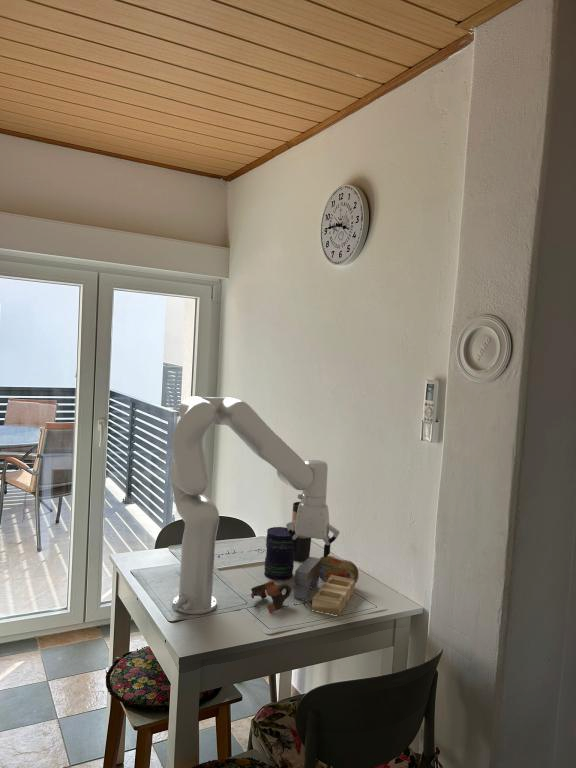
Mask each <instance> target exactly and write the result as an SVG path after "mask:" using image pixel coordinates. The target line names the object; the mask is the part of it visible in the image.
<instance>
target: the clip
mask: <svg viewBox="0 0 576 768" xmlns="http://www.w3.org/2000/svg"><path fill="white" fill-rule="evenodd" d="M320 568H321V559H320V557H319V558H318V557H315V556H309V558H308V559H307V560H306V561H303V562H302V564H300V565H299V566H298V567H297V568H296V570H294V572H295V573H294V584H295V585H294V595H293V596H294V599H295V598H299V599H298V600H300V599H304V600H307V599H308V598H309V599H310V589H313V588H315V589H314V590H317V589H318V588H319V581H320V577H319V572H320ZM310 587H312V588H310ZM317 587H318V588H317ZM309 599H308V600H309ZM304 600H303V601H304ZM308 600H307V601H308Z"/></svg>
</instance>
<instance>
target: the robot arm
mask: <svg viewBox="0 0 576 768" xmlns="http://www.w3.org/2000/svg"><path fill="white" fill-rule="evenodd" d="M178 414H179V416H180V417H179V420H178V422H177V423H176V426H175V428H174V429H173V433H172V437H171V439H172V440H171V446H172V452H173V459H174V462H173V463H172V465H171V467H170V470H169V471H170V472H169V475H170V476H169V477H170V482H171V488H172V492H173V499H174V502H175V507H176V510H177V513H178V515H179V517H180V518H181V519H182V520H183V522H184V531H183V535H182V541H181V550H180V551H181V552H180V553H181V556H180V571H179V584H178V585H179V589H178V595H177V596H176V597H174V599H173V600H172V605H171V608H172V610H174V611H177V612H179V613H183V614H187V615H203V614H207V613H209V612H212V611H214V610H215V609H216V607H217V605H218V604H217V603H218V601H217V599H216V598H215V597H214V596H213V584H214V569H215V551H216V542H217V541H216V539H217V532H218V527H219V524H220V513H219V510H218V507H217V506H216V504H215V502H213V501H212V500H211V499H210V498H209V497H207V493H206V490H207V489H208V486H209V484H210V473H209V470H208V466H207V461H206V456H205V455H206V454H205V451H204V438H205V435H206V433H207V431H208V430H209V429H210V428H211V427H212V426H228V427H229V428H230V429H231V430H232V431H233V432H234V433H235V434H236V436H237V437H238V438H240V440H242V441H243V443H244V444H245V445H246V446H247V447H248V448H249V449H250V450H251V451H252V452H253V454H255V455H256V456H257V457H258V458H260V459H262V460H263V461H265V462H267V464H269V465H271V466H272V467H273V468H274V469H275V470H276V475H277V477H278V478H279V480H280V481H281V482H282V483H284V484H286V485H287V486H289V487H291V488H293V489H295V490H297V491H301V492H302V493H301V494H297V499H298V500H301V501H300V502H301V503H299V506H298V511H297V517H296V520H295V521H292V520H291V521H289V522H287V523H286V525H285V526H286V527H285V528H287V529H288V531H289V534H290V535H291V536H292V539H293V540H294V541H293V548H294V552H297V551H299V549H300V537H299V536H303V537H309V538H311V539H316V540H323V542H324V545H323V557H324V558H326V557H327V556H330V554H331V546H332V545H331V544H332V543H334V542H335V541H336V539H337V538H338V536H339V534H340V532H341V531H340V530H338V529H337V528H336V527H335V526H332V524H330V513H329V512H330V511H329V507H328V504H327V489H328V487H327V486H328V471H329V470H328V469H329V468H328V463H327V462H326V461H324V460H320V459H310V460H303V459H302V458H301V457H300V456H299V455H298V454H297V452H295V451H294V450H293V449H292V448H291V447H290V446H289V445H288V444H287V443H286V442H285V441H284V440H283V439H282V438H281V437H280V436H279V435H278V434H276V432H274V430H273V429H272V428H271V427H270V426H269V425H268V424H267V423H266V422H265V421H264V420H263V419H262V417H260V416H259V415H258V413H257V412H256V410H254V409H253V408H252V407H251V406H250V404H248V403H247V402H245V401H244V400H241V399H238V398H235V397H234V398H233V397H213V396H212V397H211V396H209V397H208V396H189V397H187V398H185V399H184V400H183V401H182V402H181V404H180V405H179V408H178ZM294 525H295V531H294V530H293V528H292V526H294ZM330 532H331V533H332V536H331V537H330V536H329V534H330Z"/></svg>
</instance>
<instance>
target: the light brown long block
mask: <svg viewBox="0 0 576 768" xmlns="http://www.w3.org/2000/svg"><path fill="white" fill-rule="evenodd" d="M355 587H356V583H355V580H354V579H349V578H344V577H339V576H334V575H331V576H330V577H329V578H328V580H327V581H326V582H325V581H324V583H323V585H322V586H321V587H320V588H319V589H318V591H317V592H316V593H315V594H314V596H313V597H312V602H311V611H312V610H314V611H319V612H323V613H329V614H333V615H337V616H338V615H339V614H340V615H341V613H342V612H343V610H344V609H345V607H346V606H345V605H348V603H347V602H349V601H350V600H349V599H351V598H352V597H353V595H354V593H355V591H356V589H355ZM351 596H352V597H351ZM343 608H344V609H343ZM342 609H343V610H342ZM341 611H342V612H341ZM340 612H341V613H340ZM340 615H339V616H340Z"/></svg>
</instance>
